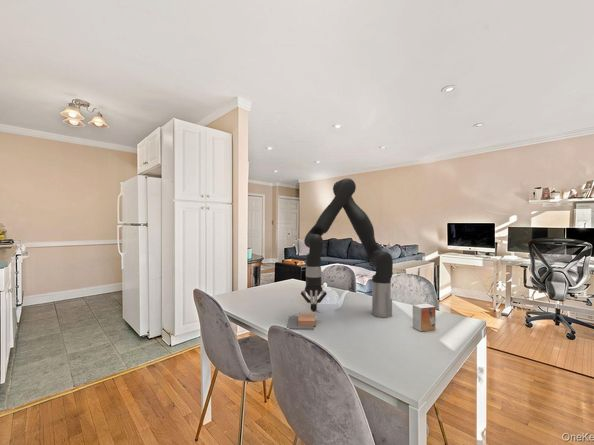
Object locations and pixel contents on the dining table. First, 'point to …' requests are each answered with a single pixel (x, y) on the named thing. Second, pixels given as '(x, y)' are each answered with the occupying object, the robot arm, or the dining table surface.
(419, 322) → the small box
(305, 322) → the tile
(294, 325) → the felt mat
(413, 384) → the dining table surface
